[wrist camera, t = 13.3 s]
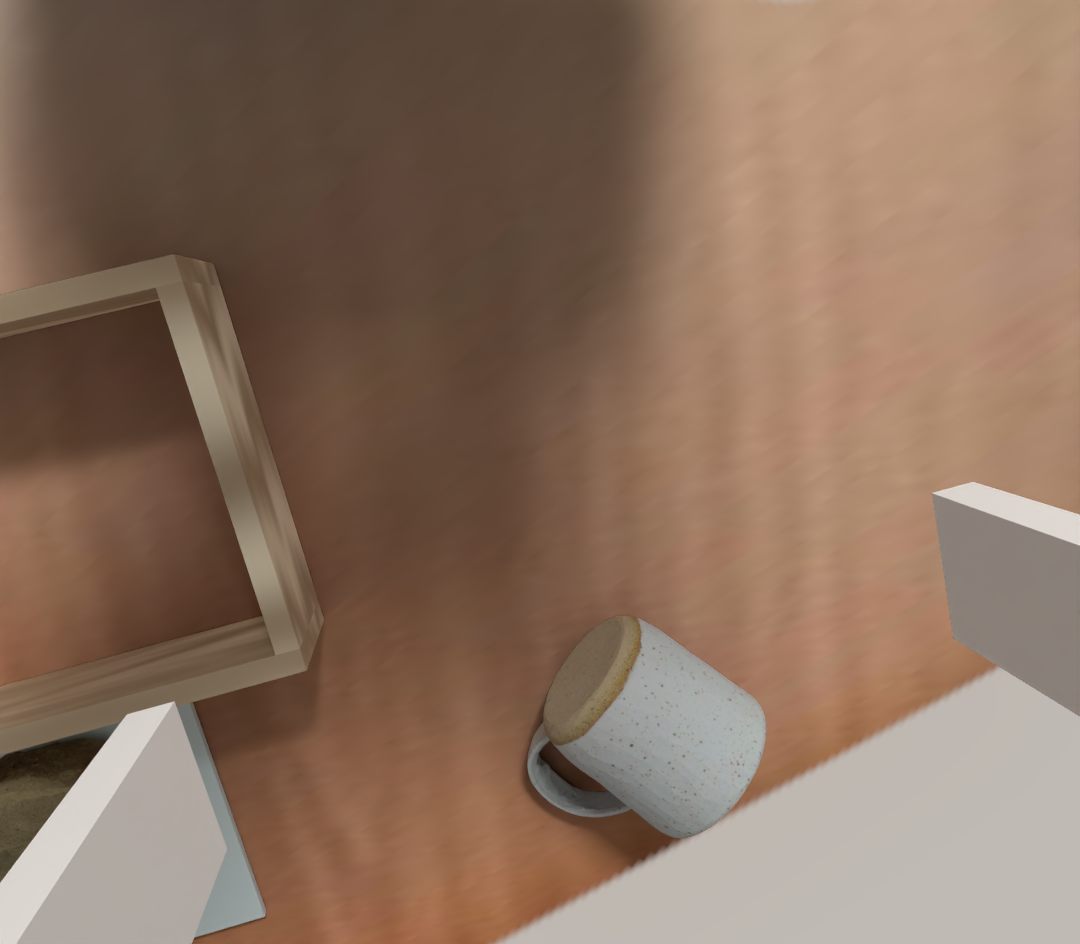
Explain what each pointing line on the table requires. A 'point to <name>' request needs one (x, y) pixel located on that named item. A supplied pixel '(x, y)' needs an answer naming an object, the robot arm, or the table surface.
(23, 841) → the stone block
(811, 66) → the table surface
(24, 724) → the slotted box
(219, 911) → the mat
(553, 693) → the ceramic mug
